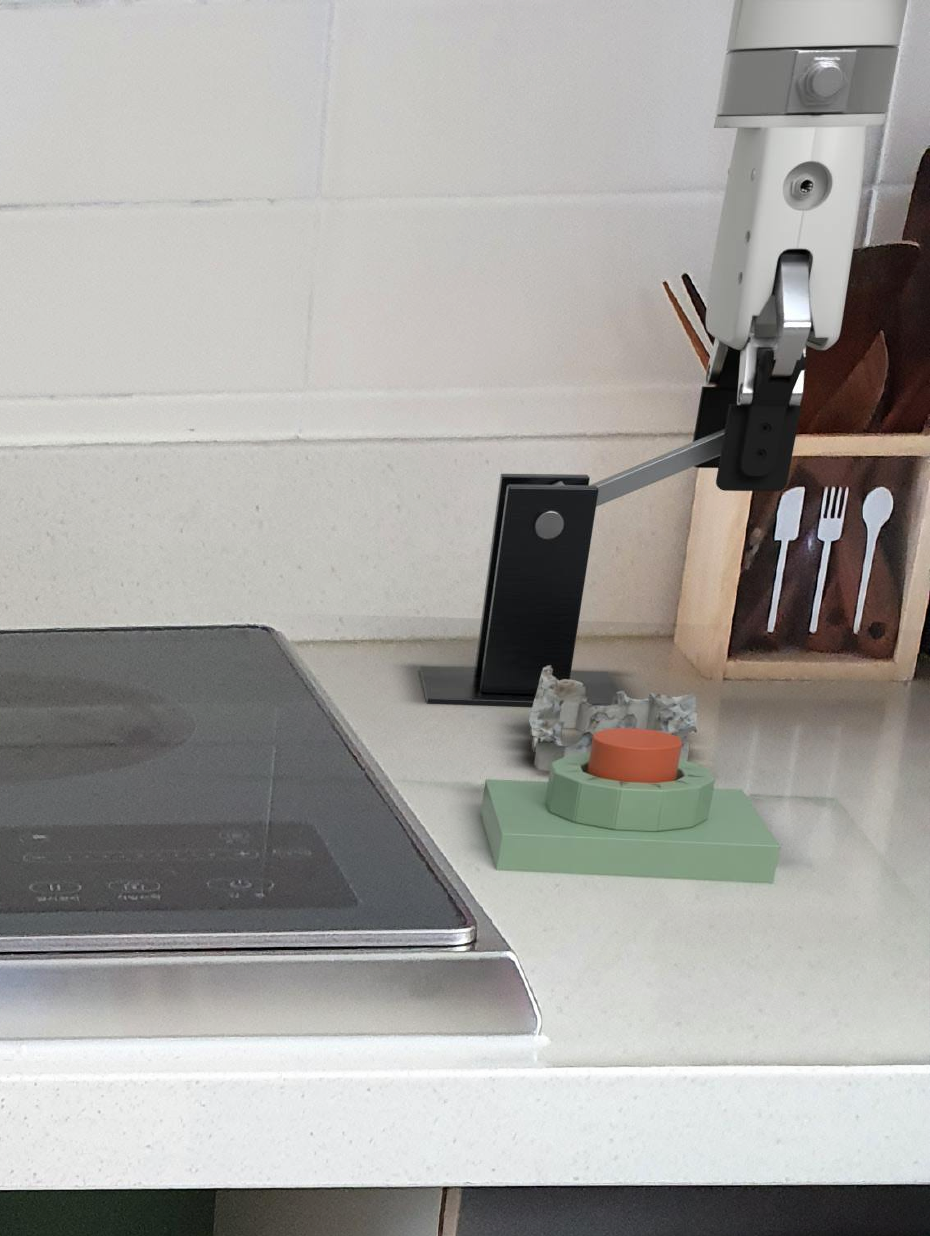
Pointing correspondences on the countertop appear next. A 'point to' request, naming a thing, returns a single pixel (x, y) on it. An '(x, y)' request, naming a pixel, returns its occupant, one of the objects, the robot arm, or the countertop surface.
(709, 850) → the button box
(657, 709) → the egg carton
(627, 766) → the button
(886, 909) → the countertop surface
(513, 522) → the bracket
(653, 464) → the lever
